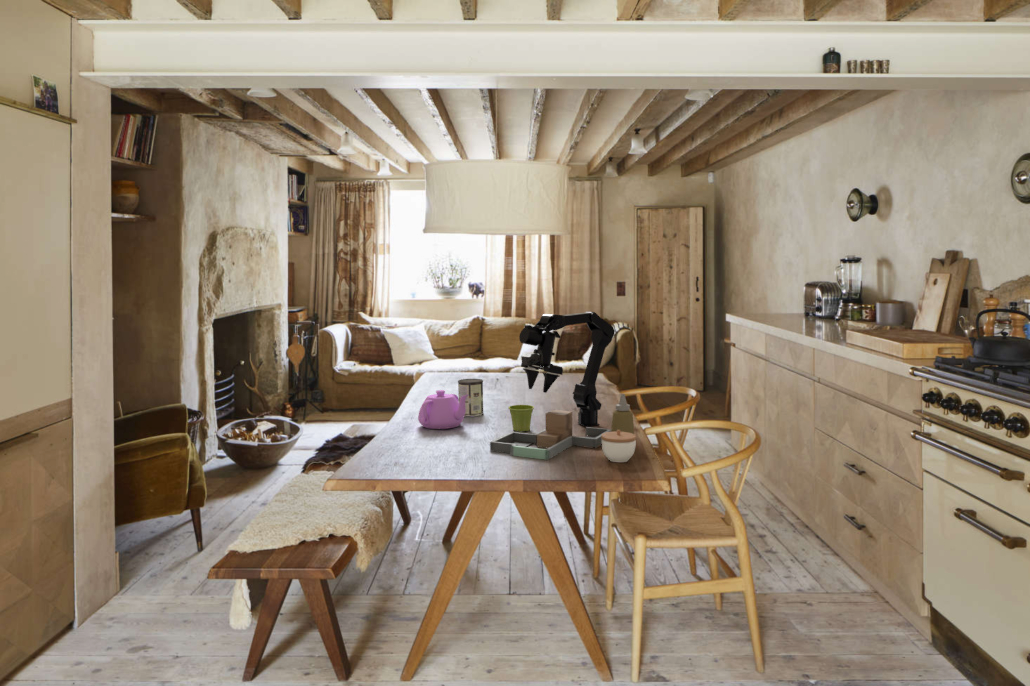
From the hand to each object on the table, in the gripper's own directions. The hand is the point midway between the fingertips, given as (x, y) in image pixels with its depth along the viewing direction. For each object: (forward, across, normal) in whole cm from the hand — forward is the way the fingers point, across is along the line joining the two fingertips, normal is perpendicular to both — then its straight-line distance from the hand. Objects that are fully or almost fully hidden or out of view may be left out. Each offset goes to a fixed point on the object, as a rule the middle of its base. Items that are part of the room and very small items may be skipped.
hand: (537, 390), depth 252 cm
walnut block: (+16, +16, 0) cm, 23 cm away
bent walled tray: (+16, +18, -2) cm, 24 cm away
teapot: (+21, -28, -19) cm, 39 cm away
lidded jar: (+15, +44, +3) cm, 47 cm away
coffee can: (+16, -43, 0) cm, 46 cm away
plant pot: (+16, -7, +1) cm, 17 cm away
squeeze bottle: (+13, +34, +14) cm, 39 cm away
